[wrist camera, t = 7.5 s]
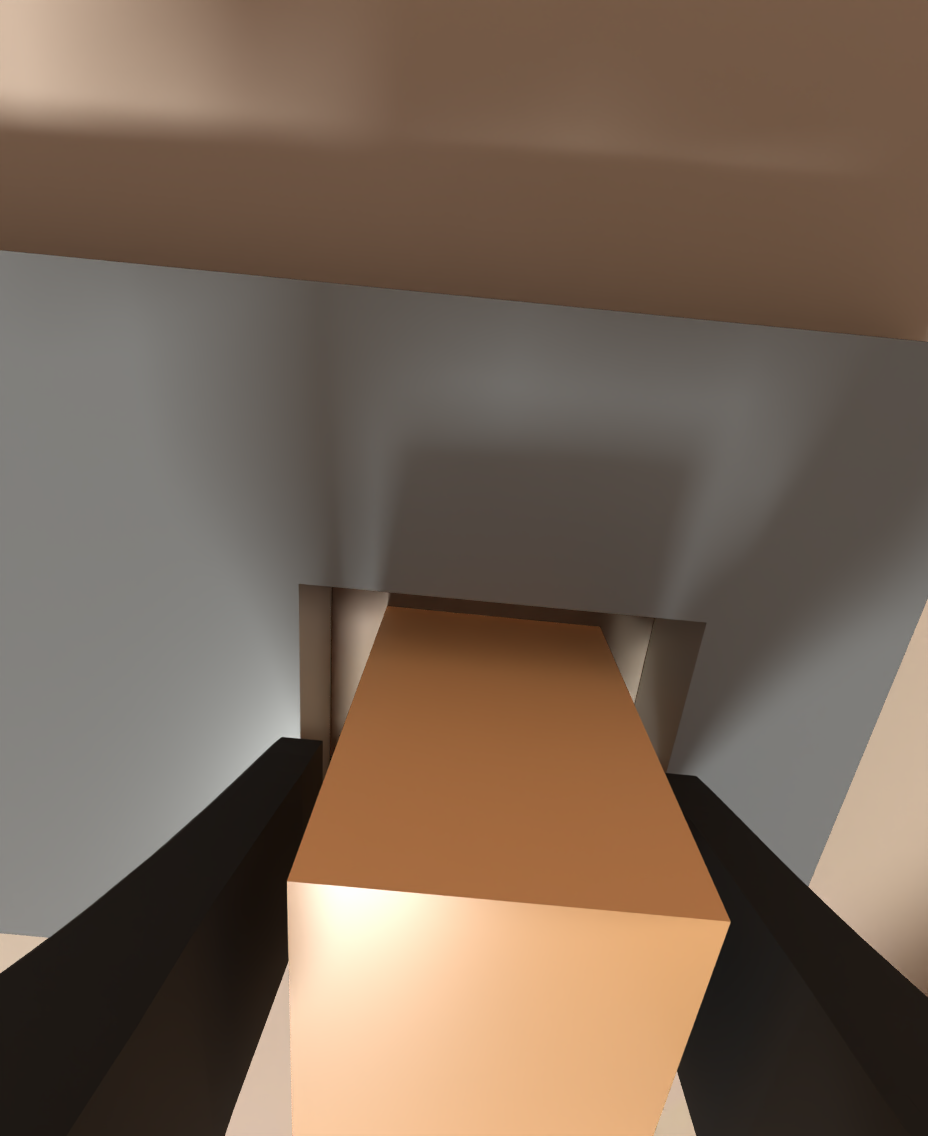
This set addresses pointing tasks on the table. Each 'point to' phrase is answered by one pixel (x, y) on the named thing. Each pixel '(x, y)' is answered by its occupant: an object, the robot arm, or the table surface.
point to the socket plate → (424, 533)
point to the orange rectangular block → (494, 896)
